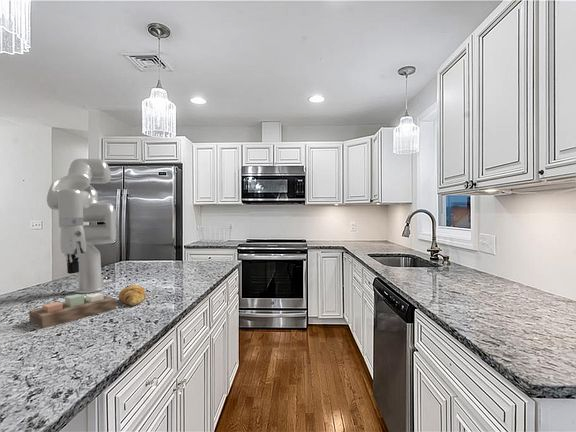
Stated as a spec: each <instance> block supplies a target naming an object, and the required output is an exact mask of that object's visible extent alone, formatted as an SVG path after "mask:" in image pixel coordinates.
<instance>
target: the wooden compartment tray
mask: <svg viewBox="0 0 576 432" xmlns="http://www.w3.org/2000/svg"><path fill="white" fill-rule="evenodd" d="M61 303H62V304H63V309H61V310H57V311H53V312H48V313H46V312H43V307H39V308H34V309H30V310H28V313H29V316H28V317H29V318H28V319H29V323H31V324H33V325H35V326H36V327H40V328H41V329H46V328H50V327H54V326H57V325H61V324H65V323H69V322H73V321H75V320H80V319H84V318H87V317H91V316H94V315H95V316H96V315H98V314H102V313H106V312H110V311H113V310H116V309H117V299H116V297H115V298H114V297H111V296H107V295H104V299H103V300H99V301H95V302H88V301H86V297H84V304H82V305H78V306H74V307H67V306H65V302H61Z"/></svg>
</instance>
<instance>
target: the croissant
mask: <svg viewBox="0 0 576 432" xmlns="http://www.w3.org/2000/svg"><path fill="white" fill-rule="evenodd" d="M117 296H118V300H119V301H120V302H121V303H123V304H125V305H128V306H133V307H134V306H136V305H139V304H141V303H142V302H143V301H145V300H146V297H147V296H146V291H145V289H144V287H143V286H141V285H138V284H130V285H128V286H126V287H124V288H122V290H121V291H120V292H119V293H118V295H117Z"/></svg>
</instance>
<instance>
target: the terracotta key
mask: <svg viewBox="0 0 576 432" xmlns="http://www.w3.org/2000/svg"><path fill="white" fill-rule="evenodd" d="M62 303H63V302H58V301H55V302H51V303H46V304H42V308H43V312H46V313H48V312H53V311H57V310H61V309H63V304H62Z"/></svg>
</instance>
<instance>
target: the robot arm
mask: <svg viewBox="0 0 576 432" xmlns="http://www.w3.org/2000/svg"><path fill="white" fill-rule="evenodd" d="M111 179H112V172H111V169H110V166H109V165H108V163H107V161H105V160H104V159H101V158H77V159H74V160H72V162H71V163H70V166H69V168H68V172H67V174H66V175H65V176H63V177H61V178H59V179H56V180H55V181H53V182H52V183H51V184H50V186H49V189H48V192H47V194H46V203H47V206H48V207H49V208H50V209H51V210H54V211H58V212H57V213H58V228H60V238H59V239H60V241H59V242H60V243H59V244H60V252H61V253H62V254H64V257H65V258H66V260H65V261H66V267H67V270H66V271H67V274H70V275H71V274H76V273H77V277H78V278H77V281H78V287H77V288H75V289H74V293H75V294H91V293H98V292H101V291H103V290H105V289H106V284H111V283H113V280H112V278H110V279H103V278H102V262H101V261H102V260H101V251H100V250H99V249H98V248H97V247H96V246H95V245H106V244H107V245H109V244H113V243H114V242H115V241H116V239H117V226H116V225H117V220H116V219H117V218H116V209H115V206H114V204H113V203H111V202H99V201H98V194H99V193H98V192H97V190H96V189H95V188H94V187H93V185H91V184H108V183H110V181H111ZM84 223H103V224H84ZM104 223H105V224H104Z"/></svg>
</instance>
